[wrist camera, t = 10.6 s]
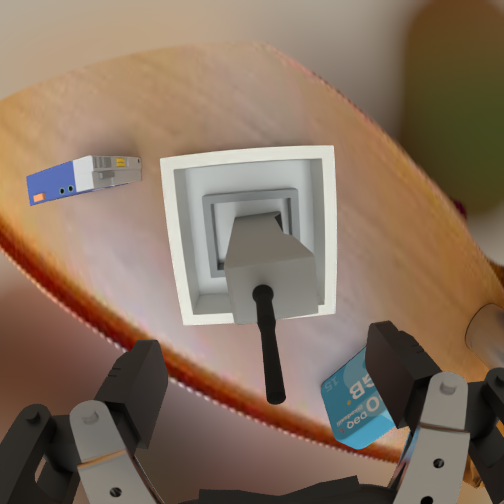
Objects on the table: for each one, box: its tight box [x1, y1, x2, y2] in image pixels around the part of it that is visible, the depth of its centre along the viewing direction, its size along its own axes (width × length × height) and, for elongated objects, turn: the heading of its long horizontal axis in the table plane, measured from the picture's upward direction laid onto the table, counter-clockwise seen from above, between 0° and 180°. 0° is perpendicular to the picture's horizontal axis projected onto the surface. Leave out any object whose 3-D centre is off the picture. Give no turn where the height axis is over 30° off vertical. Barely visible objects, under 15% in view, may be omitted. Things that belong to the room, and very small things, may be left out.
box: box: [160, 146, 337, 325], centre depth 30 cm, size 16×17×6 cm
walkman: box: [26, 155, 142, 206], centre depth 25 cm, size 8×3×12 cm, turn 96°
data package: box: [321, 347, 395, 449], centre depth 33 cm, size 12×4×12 cm, turn 138°
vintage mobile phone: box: [224, 211, 318, 405], centre depth 20 cm, size 4×5×25 cm
